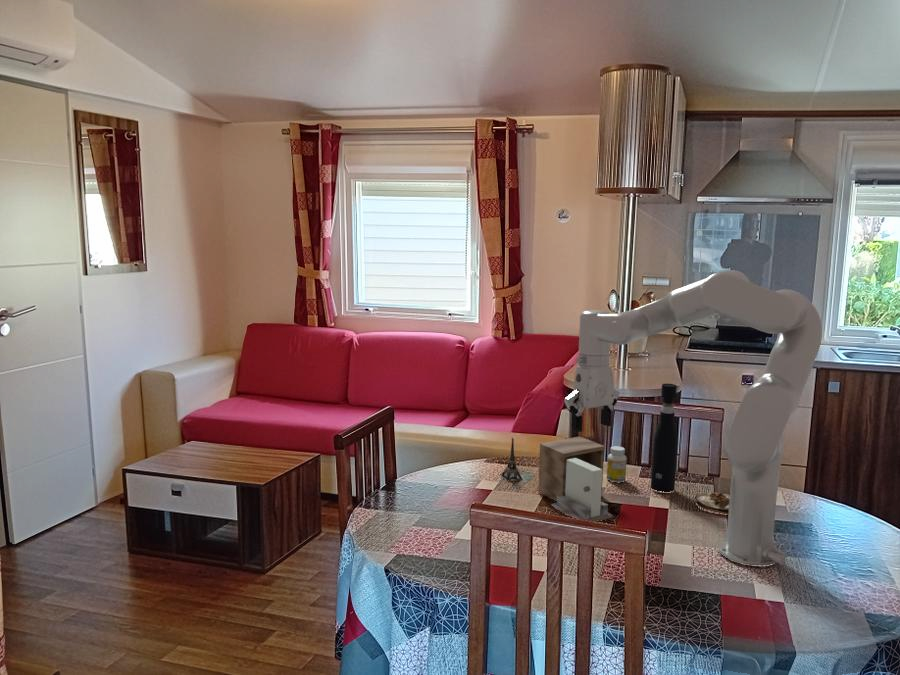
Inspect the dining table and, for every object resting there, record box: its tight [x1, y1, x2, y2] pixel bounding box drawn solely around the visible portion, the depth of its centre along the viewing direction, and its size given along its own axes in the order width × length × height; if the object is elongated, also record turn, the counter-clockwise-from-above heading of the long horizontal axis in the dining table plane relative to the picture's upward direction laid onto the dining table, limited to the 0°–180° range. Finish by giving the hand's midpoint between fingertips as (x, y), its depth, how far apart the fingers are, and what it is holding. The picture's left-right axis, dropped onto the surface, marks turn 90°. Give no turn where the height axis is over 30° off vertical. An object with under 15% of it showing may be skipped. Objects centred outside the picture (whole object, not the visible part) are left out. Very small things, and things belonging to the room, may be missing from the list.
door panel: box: [565, 458, 603, 517], centre depth 183 cm, size 10×4×12 cm, turn 31°
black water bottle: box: [650, 383, 679, 492], centre depth 199 cm, size 6×6×30 cm
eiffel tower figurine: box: [500, 437, 533, 490], centre depth 208 cm, size 15×10×13 cm
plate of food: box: [694, 491, 730, 514], centre depth 189 cm, size 15×15×4 cm
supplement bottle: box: [606, 445, 628, 483], centre depth 207 cm, size 5×5×10 cm
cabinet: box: [537, 436, 613, 521], centre depth 189 cm, size 23×18×14 cm
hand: (591, 427), depth 180 cm, fingers open, 9 cm apart
